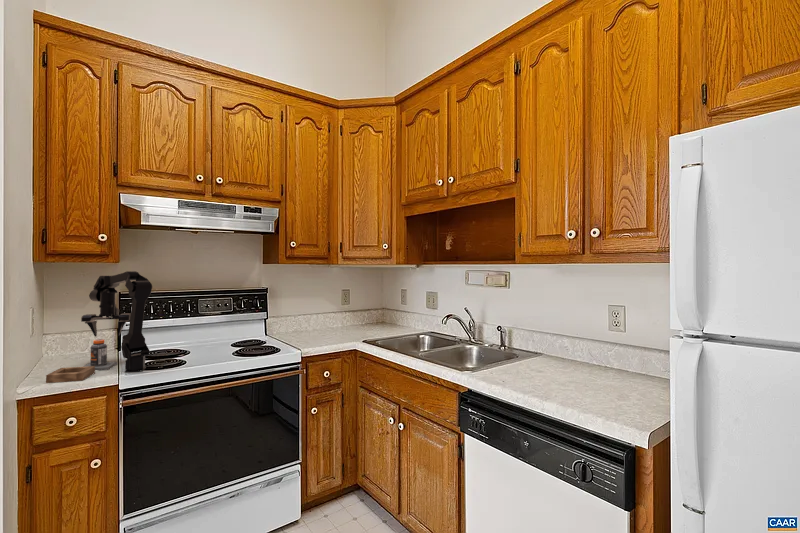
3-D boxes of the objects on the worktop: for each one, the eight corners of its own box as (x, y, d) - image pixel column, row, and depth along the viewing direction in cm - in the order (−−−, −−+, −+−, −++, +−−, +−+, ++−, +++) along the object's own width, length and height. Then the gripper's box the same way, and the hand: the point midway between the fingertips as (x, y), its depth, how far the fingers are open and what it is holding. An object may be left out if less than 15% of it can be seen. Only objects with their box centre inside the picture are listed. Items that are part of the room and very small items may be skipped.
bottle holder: (94, 373, 175) (94, 366, 175) (82, 380, 163) (82, 373, 163) (60, 375, 171) (60, 367, 171) (46, 382, 160) (46, 375, 160)
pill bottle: (87, 365, 183) (88, 340, 183) (102, 362, 188) (103, 338, 188) (94, 367, 180) (94, 341, 180) (109, 364, 185) (109, 339, 185)
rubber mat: (117, 364, 191) (117, 361, 191) (108, 369, 180) (108, 367, 180) (89, 365, 187) (89, 363, 187) (78, 371, 177) (78, 368, 177)
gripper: (136, 300, 201) (135, 332, 201) (91, 301, 196) (90, 333, 196) (128, 302, 191) (128, 336, 191) (81, 303, 185) (80, 337, 185)
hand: (107, 336), depth 191 cm, fingers open, 9 cm apart
